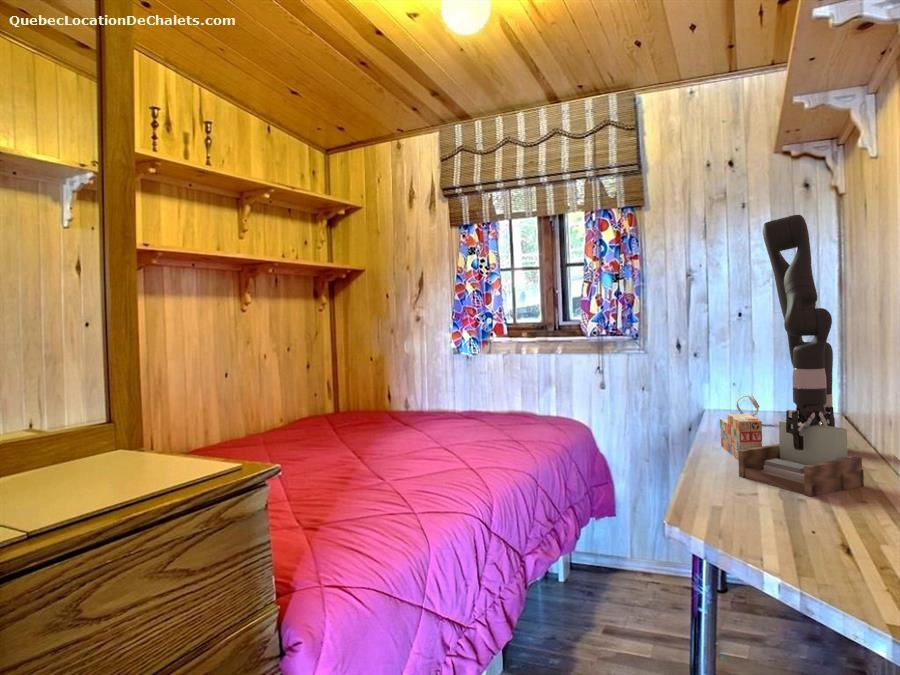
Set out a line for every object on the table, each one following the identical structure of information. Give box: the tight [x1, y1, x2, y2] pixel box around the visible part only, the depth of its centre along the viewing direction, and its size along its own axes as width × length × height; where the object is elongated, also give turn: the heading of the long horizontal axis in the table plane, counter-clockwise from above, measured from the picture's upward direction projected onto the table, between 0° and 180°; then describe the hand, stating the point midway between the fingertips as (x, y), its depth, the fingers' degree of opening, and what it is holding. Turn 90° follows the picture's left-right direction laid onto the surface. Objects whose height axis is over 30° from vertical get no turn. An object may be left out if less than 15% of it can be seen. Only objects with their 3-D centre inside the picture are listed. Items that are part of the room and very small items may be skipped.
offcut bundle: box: [762, 459, 806, 482], centre depth 152 cm, size 5×15×5 cm, turn 20°
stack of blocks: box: [719, 413, 763, 462], centre depth 184 cm, size 21×6×12 cm, turn 170°
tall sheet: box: [778, 419, 849, 465], centre depth 155 cm, size 4×16×14 cm, turn 20°
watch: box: [735, 394, 760, 417], centre depth 229 cm, size 6×8×11 cm
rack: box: [738, 443, 865, 497], centre depth 153 cm, size 18×21×7 cm
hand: (811, 447), depth 155 cm, fingers open, 8 cm apart
